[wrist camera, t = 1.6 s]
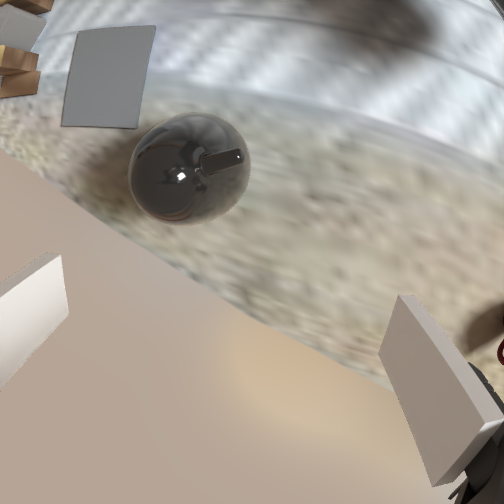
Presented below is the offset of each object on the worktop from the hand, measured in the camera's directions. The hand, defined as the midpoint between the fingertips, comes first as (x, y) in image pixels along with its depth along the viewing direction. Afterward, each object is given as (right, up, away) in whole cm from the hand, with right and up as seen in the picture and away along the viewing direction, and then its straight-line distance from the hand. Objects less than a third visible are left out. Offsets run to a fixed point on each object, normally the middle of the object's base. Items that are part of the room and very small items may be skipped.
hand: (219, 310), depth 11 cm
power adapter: (-28, +31, +16) cm, 44 cm away
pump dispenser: (-4, +11, +21) cm, 25 cm away
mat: (-15, +22, +18) cm, 32 cm away
